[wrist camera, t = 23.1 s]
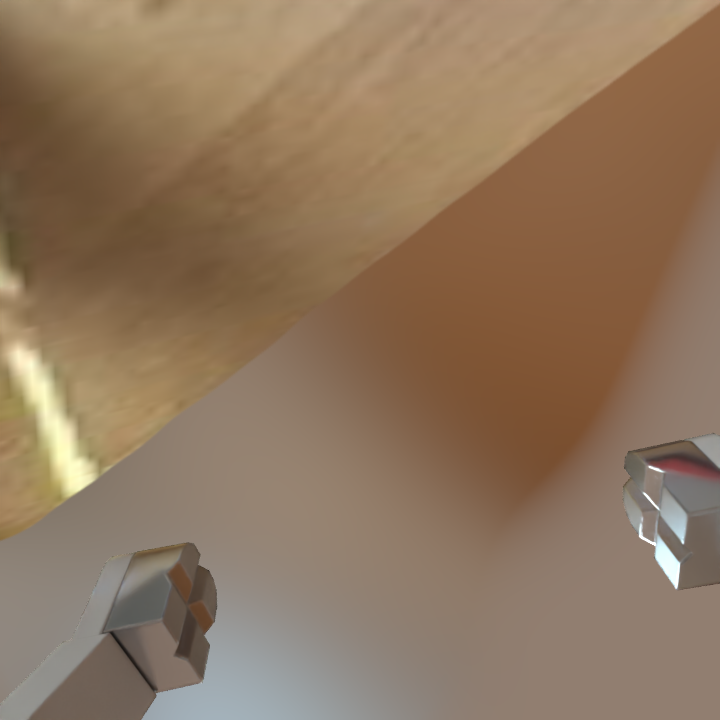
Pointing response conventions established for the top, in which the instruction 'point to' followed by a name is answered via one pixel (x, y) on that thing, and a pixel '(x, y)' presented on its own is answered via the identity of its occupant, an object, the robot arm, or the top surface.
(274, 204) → the top surface
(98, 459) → the top surface
